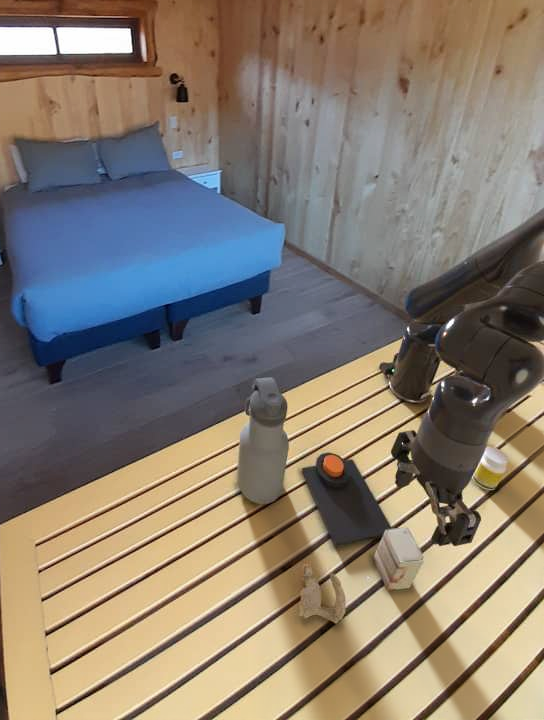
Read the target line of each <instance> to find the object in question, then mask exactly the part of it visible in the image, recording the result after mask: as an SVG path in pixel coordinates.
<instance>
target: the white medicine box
mask: <svg viewBox="0 0 544 720" xmlns="http://www.w3.org/2000/svg"><path fill="white" fill-rule="evenodd" d="M373 561H374V563H375V565H376V568H377V570H378V573H379V575H380V578H381V580H382V582H383V584H384V586H385V589H386V590H388V591H390V590H391V591H392V590H403V589H410V587H412V584H413V582H414V581H415V579H416V577H417V575H418V573H419V571H420V570H421V568H422V566H423V565H424V562H425V561H426V560H425V556H424V554H423V553H422V550H421V549H420V547H419V544H418V542H417V541H416V539H415V537H414V536H413V533H412V532H411V530H410V529H409V527H407V526H405V527H395V528H393V527H392V529H387V530H385V532H384V535H383V537H382V538H380V541H379V544H378V546H377V549H376V551H375V554H374V556H373Z"/></svg>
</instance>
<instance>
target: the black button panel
mask: <svg viewBox="0 0 544 720" xmlns="http://www.w3.org/2000/svg"><path fill="white" fill-rule="evenodd" d="M328 455H334V456H337V457H338V458H340V459H341V461H342V462H343V465H344V468H343V472H342V475H341V476H340V477H336V478H335V477H331V476H329V475H328V474H327V473H326V472H325V471H324V468H323V463H324V459H325V457H326V456H328ZM315 460H316V461H315V465H313V466H307V467H302V468H301V474H302V476H303V479H304V481H305V484H306V486H307V488H308V489H309V493H310V494H311V497H312V499H313V501H314V504H315V506H316V508H317V511H318V513H319V515H320V517H321V520H322V522H323V524H324V527H325V529H326V532H327V534H328V536H329V538H330V540H331V542H332V545H333V547H334V548H339V547H342V546H348V545H353V544H357V543H358V544H359V543H363V542H368V541H373V540H376V539H382V537H383V535H384V532H385V530H387V529H393V527H392V525H391V524H390V522H389V521H388V519H387V517H386V515H385V514H384V512H383V509H382V508H381V507H380V505H379V503H378V502H377V500H376V498H375V496H374V494H373V492H372V491H371V490H370V487H369V486H368V484H367V482H366V481H365V478H364V477H363V476H362V475H363V474H362V473H361V472H360V470H359V468H358V467H357V465H356V463H355V461H354V460H353V458H351V459H346V460H345V459H344V458H343V457H341V456H340V455H339V454H336V453H333V452H323V453H321V454H320V455H318V457H317V458H316V459H315Z"/></svg>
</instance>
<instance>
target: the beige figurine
mask: <svg viewBox="0 0 544 720" xmlns="http://www.w3.org/2000/svg"><path fill="white" fill-rule="evenodd" d="M301 576H302V580H303V582H304V584H305V587H302V588H301V590H300V597H299V598H300V600H299V603H298V612H297V617H303V619H304V620H306V619H308V618H309V617H311V616H319V617H320V618H321V617H322V618H323V619H326V620H328V621H330V622H332V623H334V624H338V623H339V622H340V621H341V620H342V619H343V618H344V616H345V615H346V605H347V604H346V595H345V592H344V589H343V587H342V582H341V581H340V579H339V578H338V576H337V575H336V574H334V573H332V572H329V577H330V582H331V586H332V588H333V590H334V594H335V603H334V605H333V606H332V607H324V606H321V603H322V591H321V586H320V584H319V582H318V580H317V578H316V577H315V576H314V572H313V568H312V567H311V565H310V564H308V563H306V564H302V572H301Z"/></svg>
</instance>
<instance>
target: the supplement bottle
mask: <svg viewBox="0 0 544 720" xmlns="http://www.w3.org/2000/svg"><path fill="white" fill-rule="evenodd" d="M508 462H509V459H508V456H507V455H506V453H505V452H503V451H502V450H501V449H499V448H497V447H494V446H486V450H485V452H484V455H483V457H482V459H481V461H480V463H479V464H478V466H477V468H476V470H475V472H474V474H473V476H472V478H471V480H472V481H473V482H474V483H475V485H477V486H478V487H480V488H481V489H483V490H486V491H494V490H496V488H498V485H499V483H500V482H501V480H502V479H503V476H504V475H505V473H506V471H507V464H508Z"/></svg>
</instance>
